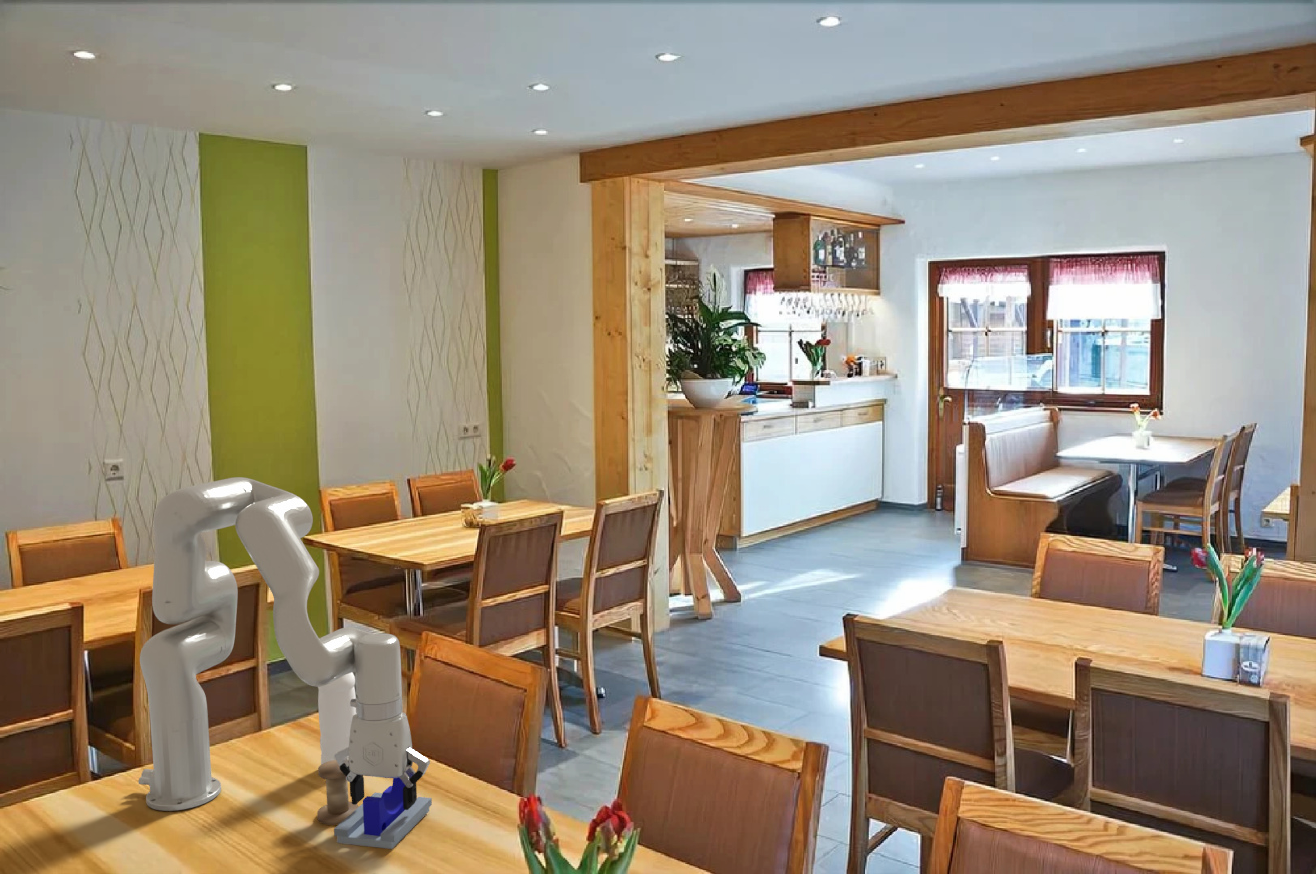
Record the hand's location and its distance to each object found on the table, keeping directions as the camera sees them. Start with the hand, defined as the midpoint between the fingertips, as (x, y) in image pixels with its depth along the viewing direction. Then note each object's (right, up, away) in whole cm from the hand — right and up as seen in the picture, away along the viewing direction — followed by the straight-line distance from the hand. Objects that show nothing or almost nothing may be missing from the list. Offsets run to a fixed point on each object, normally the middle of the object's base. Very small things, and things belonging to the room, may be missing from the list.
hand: (383, 803), depth 182 cm
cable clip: (0, -3, +1) cm, 3 cm away
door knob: (-9, -4, +5) cm, 11 cm away
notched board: (0, -4, 0) cm, 4 cm away
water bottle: (-15, -2, +24) cm, 29 cm away
